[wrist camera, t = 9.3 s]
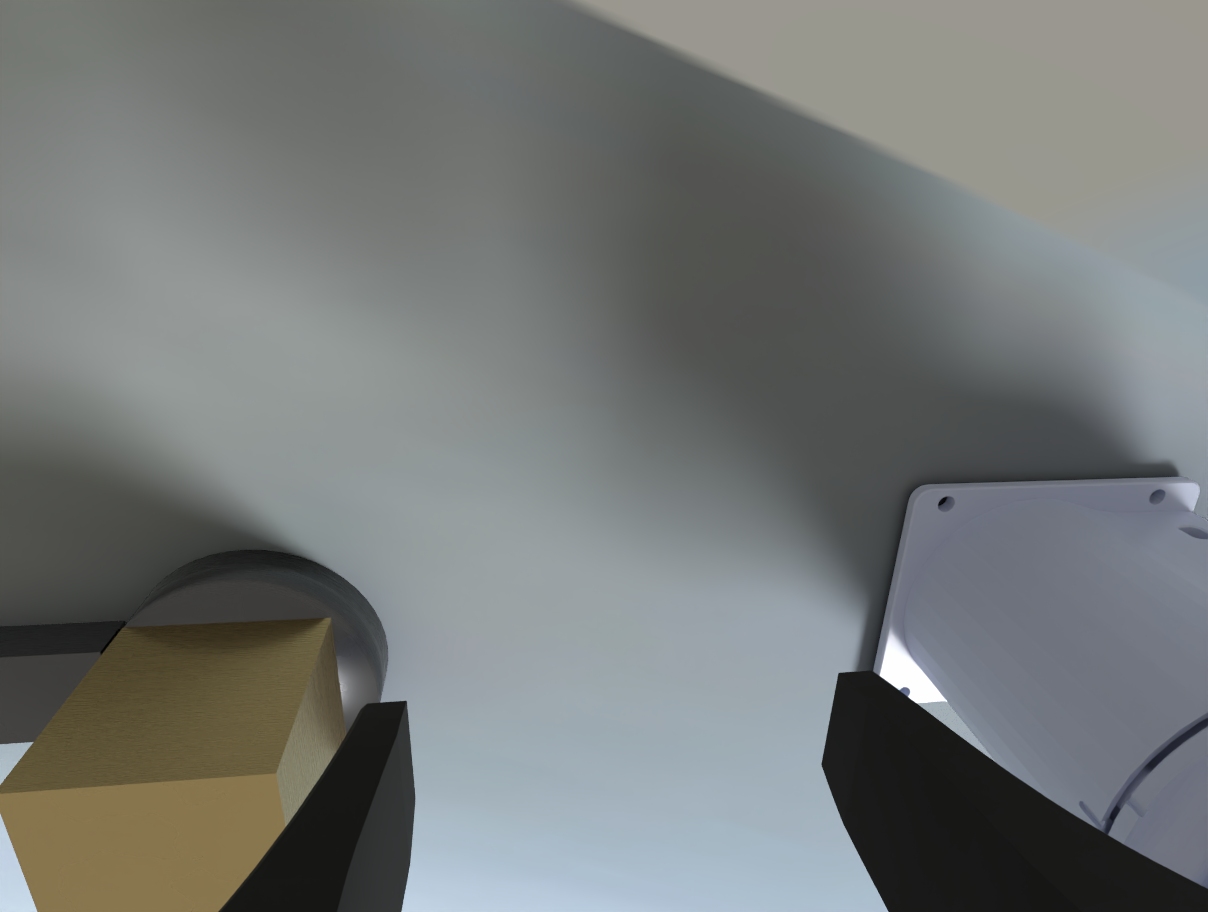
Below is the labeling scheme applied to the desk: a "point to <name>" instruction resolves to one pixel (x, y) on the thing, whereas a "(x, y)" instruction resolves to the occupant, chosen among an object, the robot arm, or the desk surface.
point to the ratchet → (196, 596)
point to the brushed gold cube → (175, 765)
